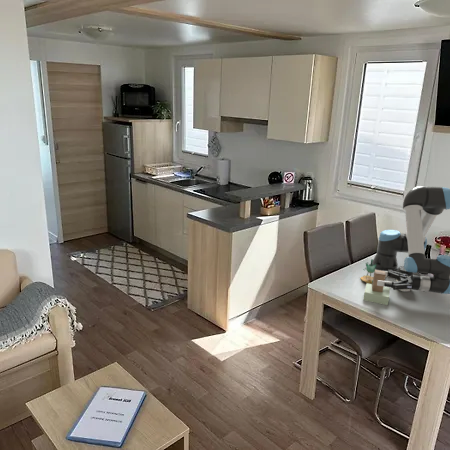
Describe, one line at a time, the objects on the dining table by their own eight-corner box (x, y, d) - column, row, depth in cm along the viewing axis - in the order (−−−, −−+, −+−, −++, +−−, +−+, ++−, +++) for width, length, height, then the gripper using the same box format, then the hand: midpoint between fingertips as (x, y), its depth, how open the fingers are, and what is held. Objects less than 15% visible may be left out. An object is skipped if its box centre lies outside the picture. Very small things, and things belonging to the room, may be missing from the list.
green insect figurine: (360, 286, 232) (363, 261, 229) (359, 277, 249) (362, 254, 246) (378, 289, 229) (382, 263, 226) (376, 280, 246) (379, 256, 243)
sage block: (365, 291, 227) (366, 283, 225) (388, 296, 223) (389, 287, 221) (363, 300, 216) (364, 292, 215) (387, 305, 212) (389, 297, 210)
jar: (407, 285, 236) (411, 266, 232) (413, 291, 228) (417, 271, 224) (392, 284, 236) (395, 265, 232) (397, 291, 228) (401, 271, 224)
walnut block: (371, 286, 221) (374, 269, 218) (381, 288, 220) (384, 271, 217) (372, 290, 216) (375, 273, 213) (382, 292, 215) (385, 274, 212)
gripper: (423, 300, 201) (377, 294, 206) (413, 279, 225) (372, 274, 229) (426, 286, 199) (379, 280, 204) (415, 267, 222) (374, 262, 227)
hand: (375, 277), depth 216 cm, fingers open, 13 cm apart
